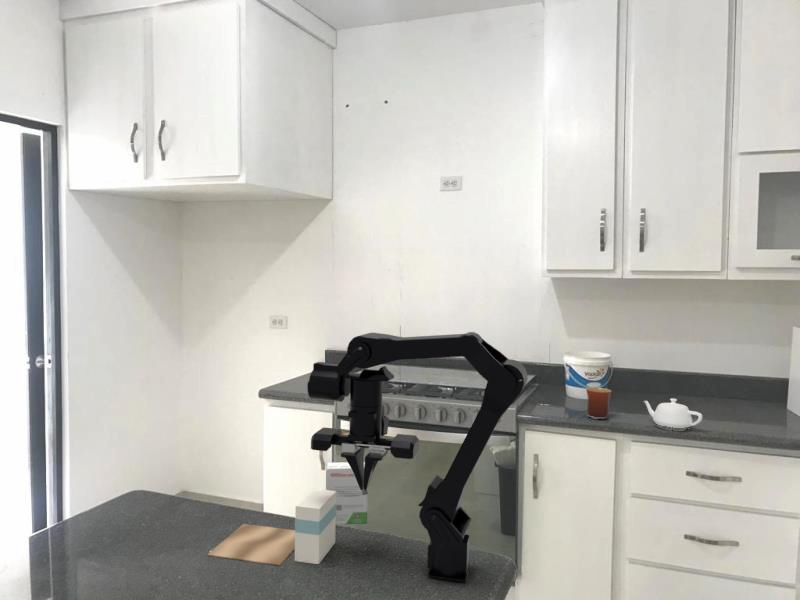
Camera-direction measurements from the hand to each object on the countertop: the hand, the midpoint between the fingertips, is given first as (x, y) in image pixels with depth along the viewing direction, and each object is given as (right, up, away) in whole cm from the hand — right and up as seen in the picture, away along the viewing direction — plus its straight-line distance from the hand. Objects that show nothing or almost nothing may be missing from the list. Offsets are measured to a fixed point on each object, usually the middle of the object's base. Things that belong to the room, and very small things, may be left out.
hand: (364, 489), depth 113 cm
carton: (-9, -12, +3) cm, 15 cm away
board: (-20, -12, +5) cm, 24 cm away
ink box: (-5, -12, +17) cm, 21 cm away
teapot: (+99, -10, +102) cm, 142 cm away
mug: (+77, -9, +115) cm, 139 cm away
